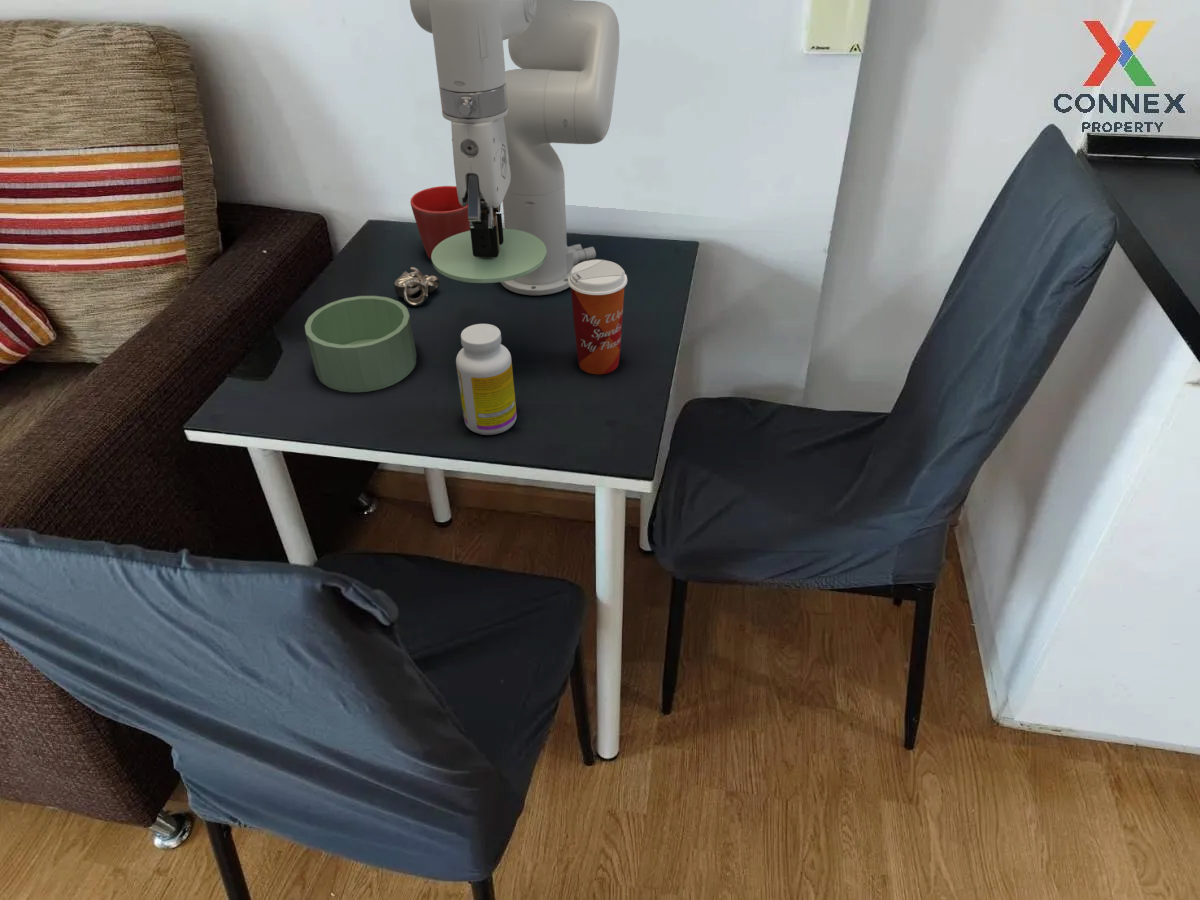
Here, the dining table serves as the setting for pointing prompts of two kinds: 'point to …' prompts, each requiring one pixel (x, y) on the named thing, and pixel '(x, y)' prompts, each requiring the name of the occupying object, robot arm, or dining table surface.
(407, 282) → the ornament
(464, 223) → the flower pot
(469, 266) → the pot lid
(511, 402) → the supplement bottle
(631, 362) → the dining table surface
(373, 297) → the pot
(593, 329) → the paper cup
